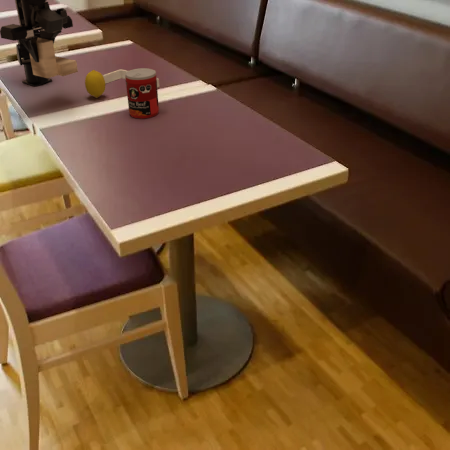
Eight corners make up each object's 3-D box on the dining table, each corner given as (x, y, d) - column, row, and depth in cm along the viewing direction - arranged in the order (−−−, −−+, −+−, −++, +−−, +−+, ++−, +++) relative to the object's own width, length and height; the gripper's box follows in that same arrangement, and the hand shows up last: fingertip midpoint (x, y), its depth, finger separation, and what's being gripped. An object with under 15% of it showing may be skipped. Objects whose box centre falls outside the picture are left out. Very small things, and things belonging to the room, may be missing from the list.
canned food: (123, 116, 160) (119, 75, 155) (140, 106, 166) (137, 66, 161) (147, 121, 157) (144, 79, 152) (164, 110, 163) (161, 70, 158)
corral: (91, 87, 180) (90, 79, 179) (121, 77, 189) (120, 69, 187) (129, 98, 172) (128, 89, 171) (159, 86, 180) (158, 78, 179)
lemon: (109, 94, 175) (105, 67, 171) (103, 101, 170) (100, 73, 166) (90, 94, 175) (86, 66, 171) (84, 101, 171) (80, 72, 167)
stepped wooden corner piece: (28, 73, 165) (22, 39, 160) (54, 66, 170) (48, 33, 166) (52, 79, 159) (46, 44, 155) (77, 71, 165) (73, 37, 160)
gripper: (20, 7, 143) (32, 73, 150) (82, -5, 155) (90, 56, 163) (-8, 3, 149) (5, 67, 156) (54, -9, 161) (63, 51, 169)
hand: (43, 60), depth 161 cm, fingers closed on stepped wooden corner piece, 3 cm apart
